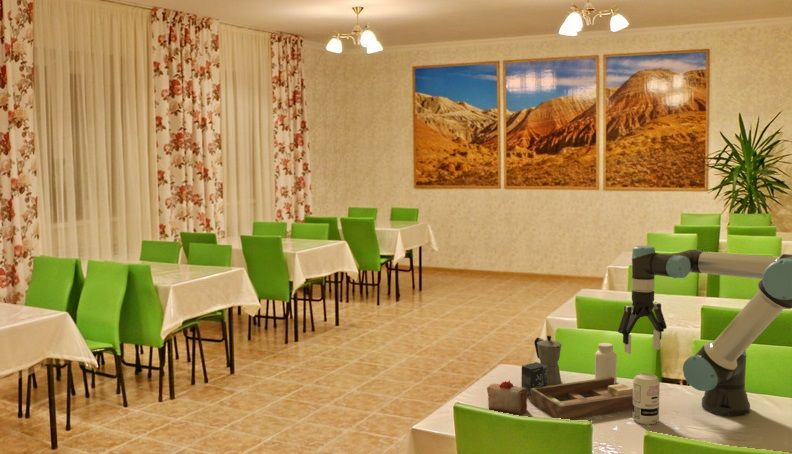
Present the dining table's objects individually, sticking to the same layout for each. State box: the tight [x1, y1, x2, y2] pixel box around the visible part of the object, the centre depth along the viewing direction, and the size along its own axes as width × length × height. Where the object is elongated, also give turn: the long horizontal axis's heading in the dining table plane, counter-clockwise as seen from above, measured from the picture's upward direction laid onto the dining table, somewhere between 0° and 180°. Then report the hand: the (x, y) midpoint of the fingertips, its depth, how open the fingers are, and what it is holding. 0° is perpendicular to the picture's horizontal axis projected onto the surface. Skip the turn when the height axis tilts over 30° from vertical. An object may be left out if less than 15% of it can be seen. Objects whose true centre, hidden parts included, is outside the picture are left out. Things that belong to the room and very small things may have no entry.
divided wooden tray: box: [530, 377, 633, 420], centre depth 259 cm, size 20×34×5 cm, turn 109°
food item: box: [486, 379, 528, 415], centre depth 256 cm, size 14×8×10 cm, turn 59°
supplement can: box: [632, 373, 661, 426], centre depth 242 cm, size 8×8×15 cm
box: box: [521, 361, 548, 397], centre depth 272 cm, size 8×6×11 cm
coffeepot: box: [534, 335, 562, 386], centre depth 285 cm, size 15×9×18 cm, turn 26°
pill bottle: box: [594, 342, 618, 385], centre depth 281 cm, size 8×8×15 cm
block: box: [608, 383, 633, 397], centre depth 259 cm, size 6×6×4 cm
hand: (642, 350), depth 260 cm, fingers open, 11 cm apart
